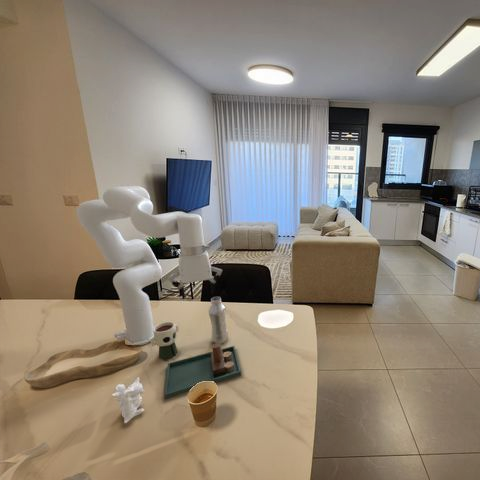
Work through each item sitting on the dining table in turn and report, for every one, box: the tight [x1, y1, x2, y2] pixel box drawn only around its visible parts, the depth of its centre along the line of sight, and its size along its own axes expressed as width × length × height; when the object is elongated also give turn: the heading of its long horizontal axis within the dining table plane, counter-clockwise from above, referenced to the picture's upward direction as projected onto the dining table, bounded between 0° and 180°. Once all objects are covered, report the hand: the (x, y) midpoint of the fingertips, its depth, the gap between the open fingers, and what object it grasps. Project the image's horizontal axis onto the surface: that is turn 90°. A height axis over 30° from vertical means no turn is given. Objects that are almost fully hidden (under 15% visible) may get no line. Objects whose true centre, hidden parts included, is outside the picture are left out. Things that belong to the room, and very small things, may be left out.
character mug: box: [150, 321, 180, 361], centre depth 99 cm, size 11×7×13 cm, turn 155°
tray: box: [164, 345, 242, 400], centre depth 93 cm, size 23×15×2 cm, turn 116°
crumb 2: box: [225, 362, 234, 372], centre depth 94 cm, size 3×3×2 cm
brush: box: [211, 343, 226, 378], centre depth 94 cm, size 4×10×9 cm, turn 26°
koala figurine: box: [110, 376, 145, 424], centre depth 75 cm, size 8×7×12 cm
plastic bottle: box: [208, 296, 229, 345], centre depth 107 cm, size 6×7×20 cm
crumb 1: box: [223, 351, 232, 361], centre depth 99 cm, size 3×3×2 cm
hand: (198, 294), depth 94 cm, fingers open, 9 cm apart
